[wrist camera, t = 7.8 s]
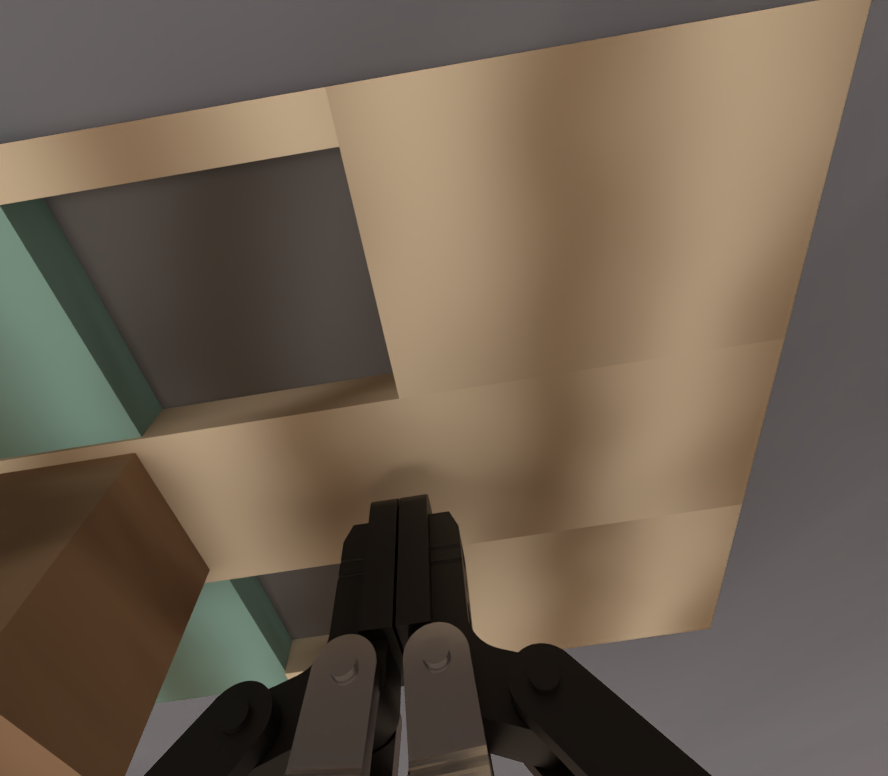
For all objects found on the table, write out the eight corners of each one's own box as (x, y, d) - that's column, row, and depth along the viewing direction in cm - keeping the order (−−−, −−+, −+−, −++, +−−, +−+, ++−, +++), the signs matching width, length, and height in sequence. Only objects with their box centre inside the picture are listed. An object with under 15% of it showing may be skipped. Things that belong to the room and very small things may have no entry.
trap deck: (798, 5, 10) (1023, -40, 7) (686, 584, 21) (747, 695, 17) (-305, 199, 11) (-680, 260, 7) (127, 664, 22) (67, 787, 18)
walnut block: (135, 452, 13) (-39, 685, 8) (210, 570, 16) (114, 799, 11) (-77, 485, 13) (-378, 734, 8) (32, 596, 16) (-145, 835, 11)
